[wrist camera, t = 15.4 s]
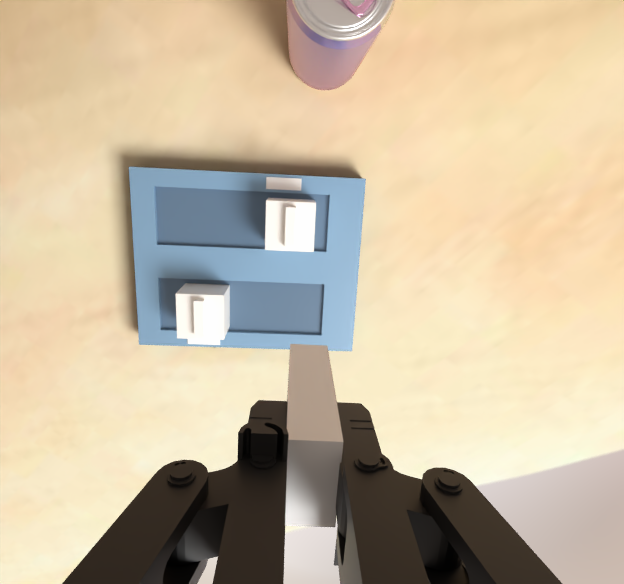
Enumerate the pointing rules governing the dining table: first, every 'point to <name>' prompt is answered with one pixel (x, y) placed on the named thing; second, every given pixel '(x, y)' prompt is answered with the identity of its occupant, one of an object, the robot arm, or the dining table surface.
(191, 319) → the tab far
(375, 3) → the beverage can
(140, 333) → the switch bank
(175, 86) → the dining table surface
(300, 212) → the tab near
